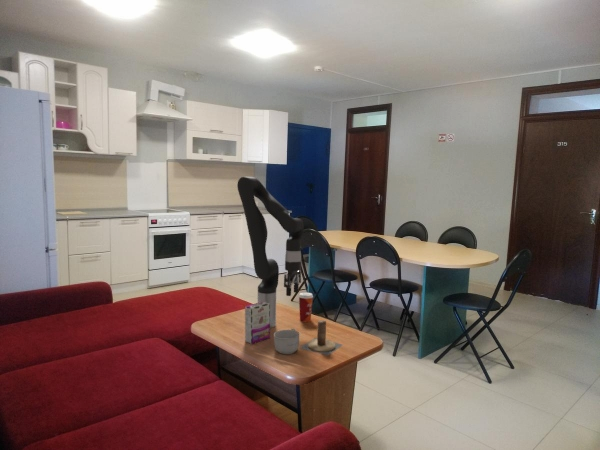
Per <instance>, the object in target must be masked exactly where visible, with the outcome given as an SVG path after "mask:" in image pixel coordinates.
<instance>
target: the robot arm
mask: <svg viewBox="0 0 600 450" xmlns="http://www.w3.org/2000/svg"><path fill="white" fill-rule="evenodd" d="M236 188H237V191H238V194H239V198H240V201H241V204H242V207H243V211H244V215H245V220H246V225H247V232H248V236H249V239H250V245H251V250H252V256H253V257H252V258H253V265H254V266H253V267H254V272H255V274H256V276H257V279H260V280H261V281H260V283H259V284H258V286H257V303H259V302H267V303H270V329H271V328H274V327H275V326H276V325H277V288H278V285H279V275H280V269H279V268H280V267H279V265H278V262H277V260H276V259H273V258H268V257H267V251H266V246H267V241H268V240H267V239H268V228H267V222H266V219H265V217H264V215H263V213H262V212H261V210H260V209H259V207H258V204H257V203H256V199H255V197H256V198H257V199H259V201H261V203H262V204H263V206H264V208H265V210H266V211H267V212H268V213H269V215H270V216H272V217H273V218H274V219H275V220H276V221H277V222H278V224H279V225H280V226H281V228H282V230H284V231H285V232H286V233H289V237H288V238H287V239H286V242H285V255H284V257H285V258H284V260H285V261H284V262H285V263H284V270H285V271H287V273H285V274H284V276H283V287H284V288H286V290H285V291H286V293H285V295H286V296H287V297H291V296H292V286H293V293H294V294H296V293H297V294H298V293H299V292H300V291H299V288H300V287H299V286H300V284H301V283H302V252H301V251H302V250H301V249H302V247H301V246H302V244H301V243H302V239H303V234H304V228H305V227H304V223H303V220H302V219H301V218H298V217H295V218H294V217H292V216H291V215H290V214H289V213H290V212H289V210H288V209H287V208H286V207H285V206H284V205H282V204H281V203H280V202H279V201H278V200H277V199H276V198H275V197H274V196H273V195H272V194H271V193H270V192H269V191H268V190H267V189H266V187H265V186H264V185H263V183H262V182H261V181H260V180H259V179H258V178H256V177H254V176H241V177H240V178H239V179H238V180H237V187H236Z"/></svg>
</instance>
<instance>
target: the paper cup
mask: <svg viewBox="0 0 600 450" xmlns="http://www.w3.org/2000/svg"><path fill="white" fill-rule="evenodd" d="M313 298H314V295H313V293H312V292H300V293H299V294H298V300H299V301H298V302H299V320H300V321H301V322H304V323H307V322H311V321H312V312H313V311H312V308H313Z"/></svg>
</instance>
